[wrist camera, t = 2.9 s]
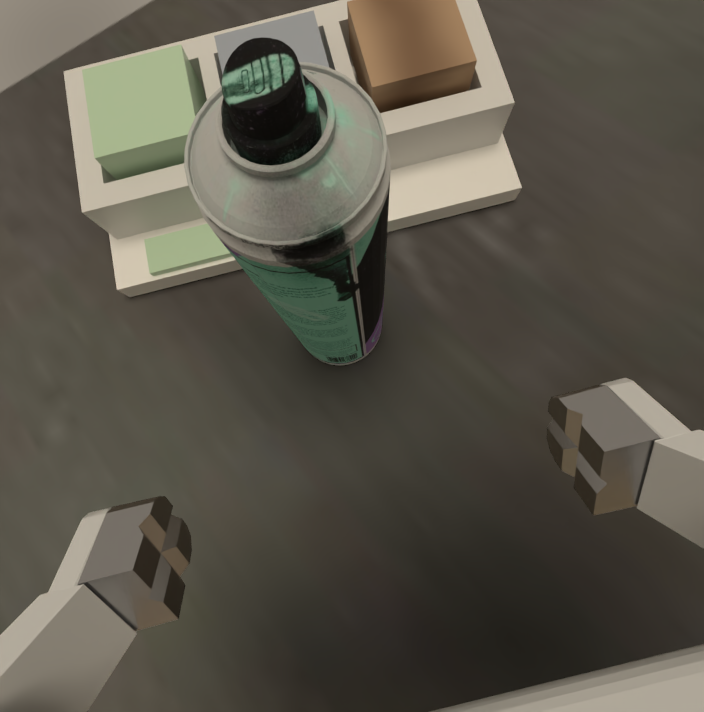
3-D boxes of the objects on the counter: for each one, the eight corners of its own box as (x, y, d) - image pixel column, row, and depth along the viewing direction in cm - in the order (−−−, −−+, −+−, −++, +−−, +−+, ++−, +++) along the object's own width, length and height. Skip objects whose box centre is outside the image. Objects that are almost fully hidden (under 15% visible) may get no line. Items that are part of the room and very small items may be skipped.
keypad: (456, 33, 32) (470, -40, 27) (514, 200, 29) (542, 152, 24) (104, 123, 32) (55, 66, 27) (129, 297, 29) (80, 269, 25)
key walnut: (438, 31, 28) (446, -25, 25) (464, 107, 27) (477, 60, 24) (350, 54, 29) (346, 1, 25) (372, 131, 27) (372, 87, 24)
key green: (204, 91, 29) (180, 44, 25) (220, 169, 27) (198, 131, 24) (117, 113, 29) (82, 69, 25) (129, 193, 28) (94, 158, 24)
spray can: (399, 327, 28) (454, 71, 8) (335, 383, 28) (237, 250, 8) (344, 269, 29) (278, -85, 9) (282, 321, 29) (75, 67, 9)
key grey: (321, 61, 29) (313, 10, 25) (342, 139, 27) (337, 96, 24) (233, 84, 29) (214, 35, 25) (250, 162, 27) (233, 122, 24)
